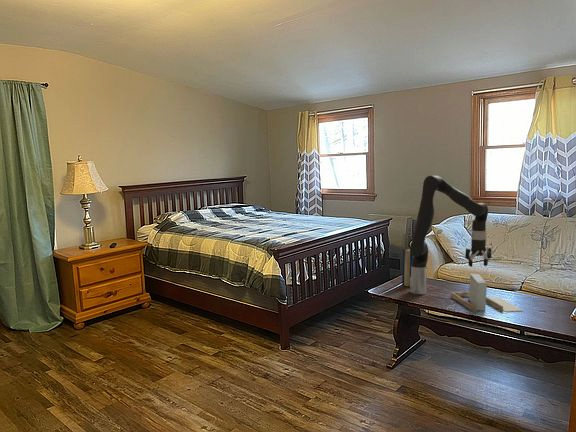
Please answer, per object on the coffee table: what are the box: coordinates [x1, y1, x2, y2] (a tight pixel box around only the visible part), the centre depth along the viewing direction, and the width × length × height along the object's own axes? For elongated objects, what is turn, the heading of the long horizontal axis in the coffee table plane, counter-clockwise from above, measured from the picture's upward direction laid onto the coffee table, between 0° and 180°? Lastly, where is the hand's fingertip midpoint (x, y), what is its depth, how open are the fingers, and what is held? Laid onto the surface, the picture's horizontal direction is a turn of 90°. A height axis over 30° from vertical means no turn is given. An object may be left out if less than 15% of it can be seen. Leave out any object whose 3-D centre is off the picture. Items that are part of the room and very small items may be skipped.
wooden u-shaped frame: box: [450, 290, 504, 314], centre depth 254 cm, size 16×29×3 cm, turn 4°
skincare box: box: [468, 273, 488, 312], centre depth 251 cm, size 21×6×16 cm, turn 168°
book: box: [401, 247, 413, 287], centre depth 297 cm, size 22×7×25 cm, turn 134°
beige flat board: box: [489, 296, 524, 313], centre depth 251 cm, size 10×24×1 cm, turn 4°
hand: (478, 266), depth 250 cm, fingers open, 8 cm apart
